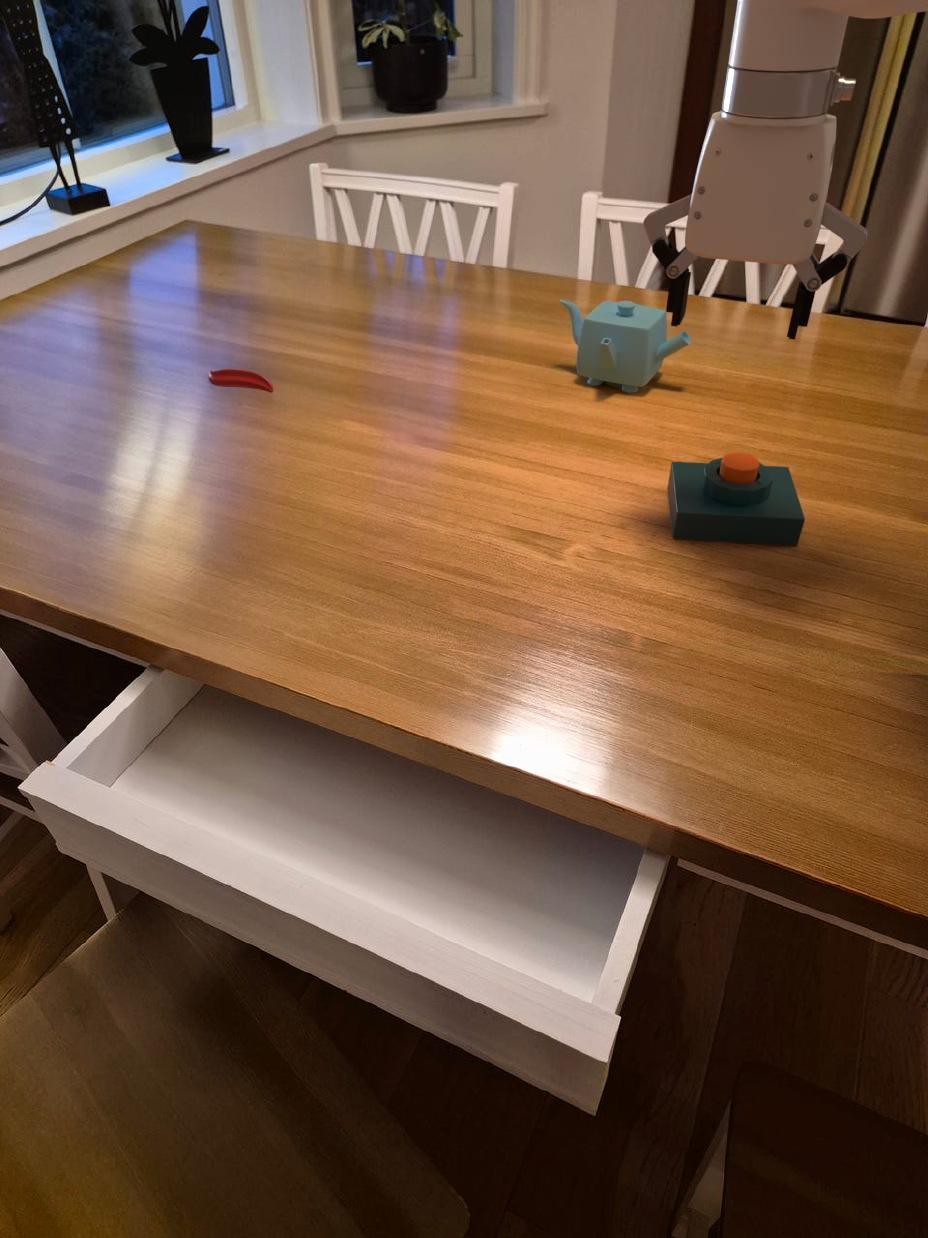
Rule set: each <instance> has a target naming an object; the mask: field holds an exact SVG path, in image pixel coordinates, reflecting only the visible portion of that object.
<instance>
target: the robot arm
mask: <svg viewBox="0 0 928 1238" xmlns="http://www.w3.org/2000/svg"><path fill="white" fill-rule="evenodd" d="M923 12H928V0H737V4H736V10H735V17H734V24H733V29H732V37H731V42H730V50H729V57H728V65H727V69H726V70H727V71H726V77H725V84H724V88H723V89H724V90H723V97H722V104H721V110H720V111H716V112H714V113H712V115H711V118H710V120H709V123H708V127H707V129H706V130H707V131H706V134H705V136H704V140H703V144H702V148H701V150H700V151H701V152H700V155H699V159H698V164H697V167H696V172H695V177H694V182H693V187H692V192H691V194H688V195H687V196H684V197H682V198H680V199H678V200H676V201H674V202H671V203H669V204H667V205H664V206H662V207H660V208H658V209H655V210H654V211H651V212H650V213H648V214H647V215H646V217H645V218H644V220H643V224H642V225H643V228H644V230H645V233H646V235H647V238H648V241H649V243H650V245H651V251H652V253H653V255H654V256H655V258H656V259H657V261H659V263H660V264H661V265H662V267H663V268H664V269H665V271H666V275H667V277H668V278H669V284H668V291H667V301H666V305H665V306H666V307H665V311H666V313H670V314H671V322H670V327H675V328H676V327H678V326H681V324H682V322H683V320H684V318H685V315H686V312H687V311H686V310H687V303H688V297H689V290H690V284H691V278H692V277H691V276H692V272H691V271H690V268H689V267H691V265H692V264H693V263H695V261H696V260H697V259H698V258H703V259H711V260H712V259H714V260H721V261H722V260H723V261H736V262H743V263H744V262H745V263H746V262H747V263H756V264H757V263H758V264H769V265H783V266H784V265H787V266H788V265H789V266H791V265H792V266H793V268H794V270H795V272H796V273H797V275H798V277H799V278H800V280H801V281H798V286H797V290H796V294H795V298H794V303H793V308H792V312H791V315H790V319H789V324H788V330H787V334H786V338H788V339H789V340H794V341H795V340H796V337H797V333H798V329H799V327H803V328H807V327H808V325H809V321H810V316H811V312H812V308H813V304H814V300H815V295H816V292H817V291H818V290H820V288H821V287H822V286H823V285H824V284H825V283H827V282H828V281H830V280H831V279H833V278H834V277H835V276H837V275H839V273H841V272H843V270H845V269H846V268H847V265H848V264H849V263H850V262H851V261H852V259H854V258H855V256H856V255H857V254H858V253H859V251H860V250H861V249H862V248H863V246H864V245H865V244H866V243H867V242H868V240H869V239H868V238H869V231H868V229H867V228H866V227H864V226H863V225H862V224H860V223H858V222H857V221H855V220H854V219H853V218H851V217H849V216H848V215H847V214H846V213H844V212H842V211H841V210H839V209H838V208H836V207H835V206H834V205H832V204H831V203H829V202H827V199H828V193H829V192H828V191H829V187H830V181H831V177H832V171H833V163H834V157H835V151H836V150H835V149H836V139H837V117H836V115H832V114H828V110H829V107H833V106H834V103H840V102H841V101H852V98H853V94H854V90H855V87H856V82H857V78H847V77H846V75H841V72H839V71H837V70H838V66H839V61H840V57H841V52H842V47H843V43H844V38H845V34H846V29H847V25H848V20H849V17H853V18H859V19H869V20H870V19H872V20H873V19H885V18H892V17H899V16H900V17H901V16H905V15H911V14H916V13H923ZM685 217H687V220H686V225H685V232H684V233H685V234H684V247H683V248H681V249H680V251H679V250H678V249H677V248H676V246H675V245H674V244H673V242H672V241H671V240H670V238H669V237H668V235H667V231H666V226H668V225H669V224H671V223H674V222H676V221H678V220H680V219H683V218H685ZM821 227H824V228H825V229H827V230H829V231H830V232H831V233H833V234H834V235H836V236H837V237H839V238H840V239H841V240H842V243H841V244H840V245H839V247H838V248H837V250H836V251H834V252H833V253H832V254H830V255H829V256H828V257H827V258H825V259H823V260H822V261H821V262H820V261H818V258H817V257H816V254H815V253H814V250H815V246H816V244H817V241H818V237H819V235H820V232H821Z"/></svg>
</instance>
